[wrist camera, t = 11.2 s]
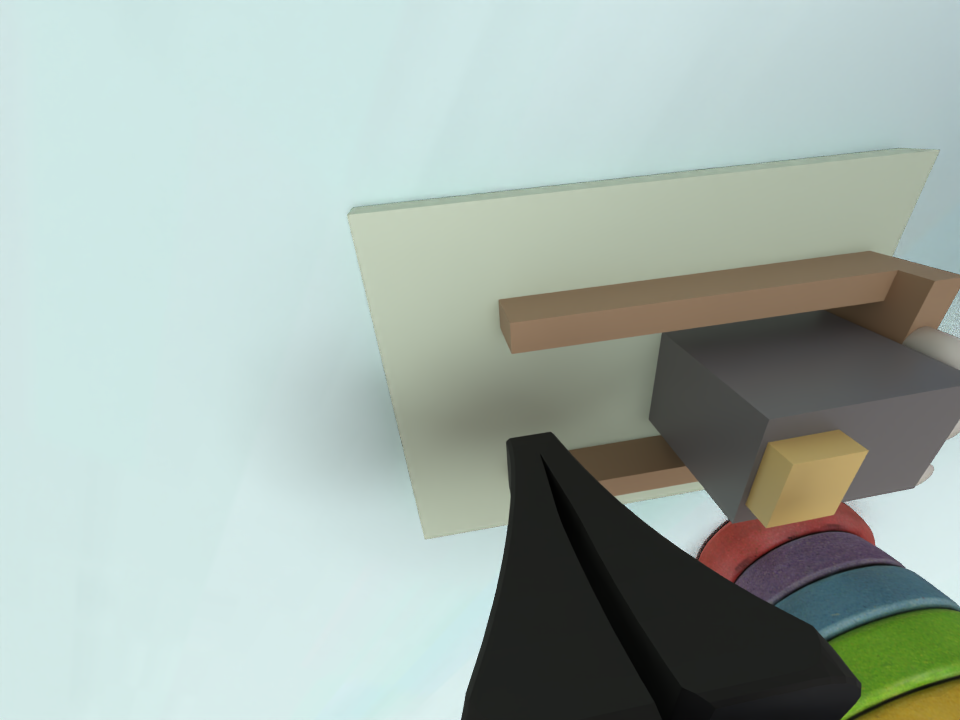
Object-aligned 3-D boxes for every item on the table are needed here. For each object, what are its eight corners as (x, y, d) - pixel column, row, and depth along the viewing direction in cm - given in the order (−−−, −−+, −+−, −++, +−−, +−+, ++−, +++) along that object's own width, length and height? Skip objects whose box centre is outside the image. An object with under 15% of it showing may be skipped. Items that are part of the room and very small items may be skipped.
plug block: (818, 307, 15) (1026, 399, 10) (785, 395, 17) (943, 509, 12) (662, 331, 14) (795, 441, 9) (648, 419, 16) (751, 547, 11)
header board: (899, 148, 13) (1187, 159, 8) (775, 456, 20) (891, 561, 16) (352, 207, 12) (308, 264, 7) (424, 517, 19) (428, 655, 14)
